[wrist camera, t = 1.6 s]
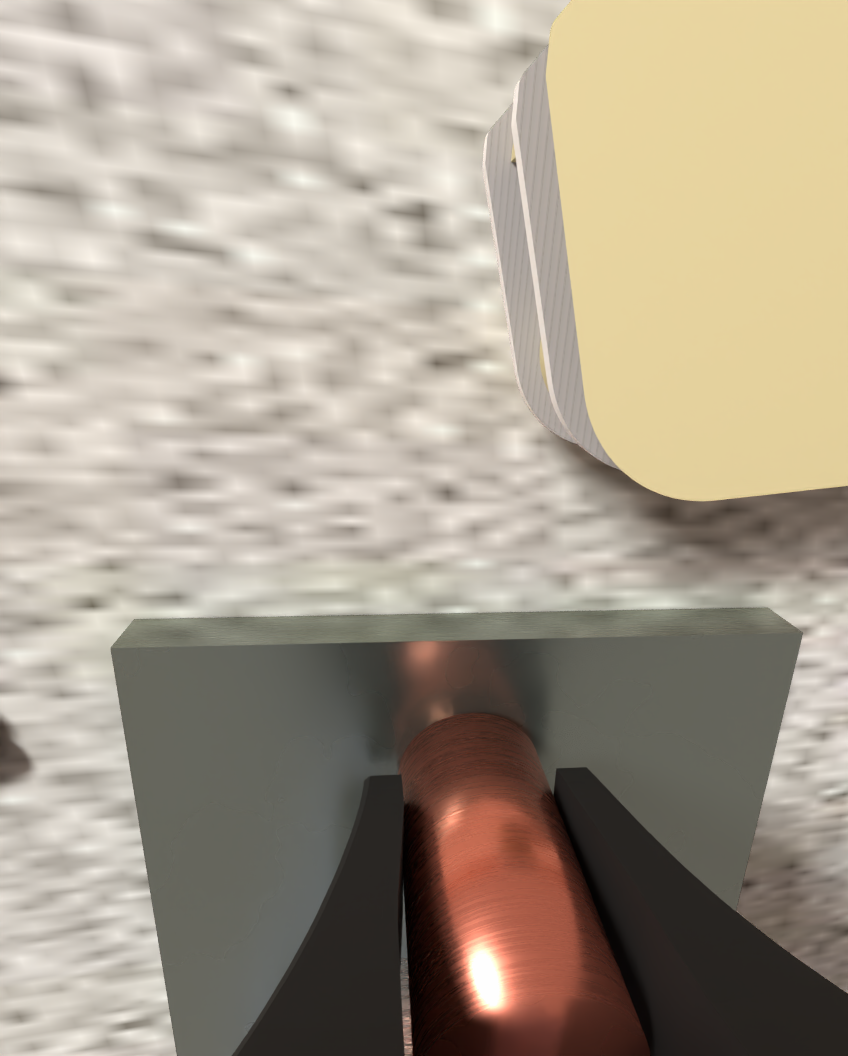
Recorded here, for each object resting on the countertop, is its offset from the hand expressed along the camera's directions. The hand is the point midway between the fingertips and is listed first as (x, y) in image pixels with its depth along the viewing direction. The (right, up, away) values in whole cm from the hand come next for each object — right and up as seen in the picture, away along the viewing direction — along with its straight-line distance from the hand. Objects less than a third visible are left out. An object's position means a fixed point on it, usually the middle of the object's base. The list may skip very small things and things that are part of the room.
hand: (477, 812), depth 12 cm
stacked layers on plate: (+3, +10, 0) cm, 11 cm away
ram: (0, -1, +2) cm, 2 cm away
